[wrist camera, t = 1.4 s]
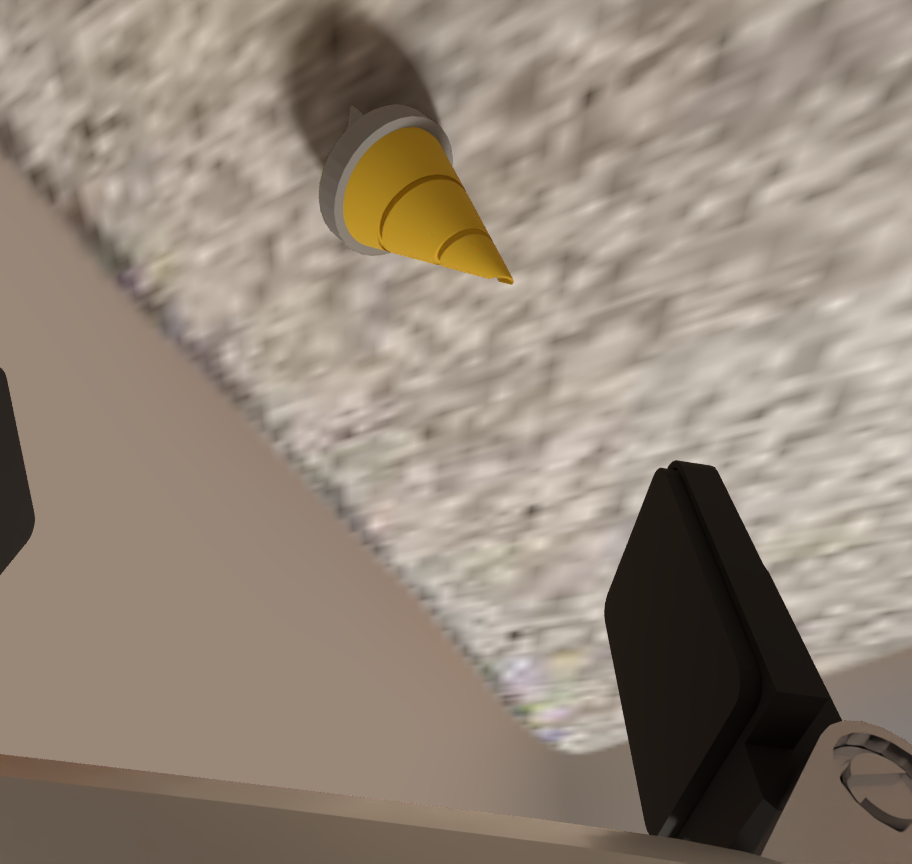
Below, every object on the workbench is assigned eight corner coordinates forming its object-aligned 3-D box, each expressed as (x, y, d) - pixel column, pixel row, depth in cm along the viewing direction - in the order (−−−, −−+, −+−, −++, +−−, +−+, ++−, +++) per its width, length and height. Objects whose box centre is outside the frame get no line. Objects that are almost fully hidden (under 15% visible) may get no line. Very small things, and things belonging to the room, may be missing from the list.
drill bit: (383, 47, 26) (580, 177, 21) (399, 171, 30) (563, 299, 26) (258, 107, 24) (444, 260, 20) (294, 229, 29) (452, 376, 24)
